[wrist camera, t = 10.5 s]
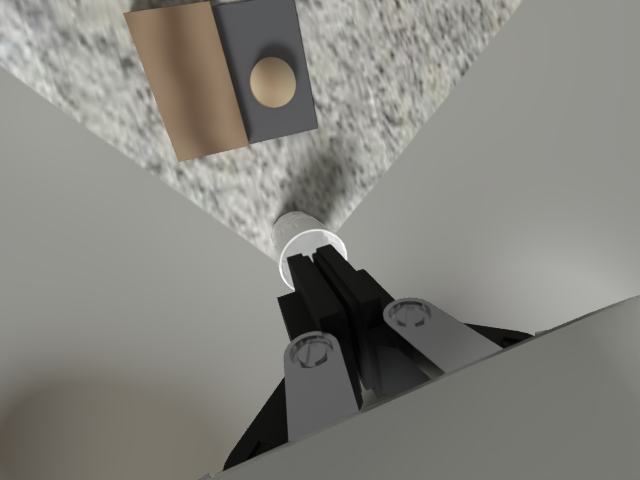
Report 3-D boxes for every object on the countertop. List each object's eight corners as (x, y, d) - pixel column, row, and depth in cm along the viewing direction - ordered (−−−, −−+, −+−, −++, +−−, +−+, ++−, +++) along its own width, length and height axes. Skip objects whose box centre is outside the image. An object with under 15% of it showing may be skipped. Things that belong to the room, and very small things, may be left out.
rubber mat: (292, -5, 35) (292, -6, 34) (317, 128, 40) (317, 128, 40) (209, 7, 33) (209, 6, 33) (247, 144, 38) (248, 144, 38)
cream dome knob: (290, 60, 37) (294, 57, 35) (293, 107, 38) (296, 106, 37) (246, 59, 35) (248, 56, 33) (251, 108, 37) (253, 107, 35)
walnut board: (209, 7, 33) (209, 1, 31) (247, 144, 38) (249, 145, 37) (128, 19, 31) (123, 13, 30) (180, 160, 37) (178, 162, 35)
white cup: (331, 220, 45) (359, 244, 36) (306, 267, 47) (327, 301, 38) (282, 197, 42) (299, 217, 33) (257, 248, 43) (267, 281, 34)
